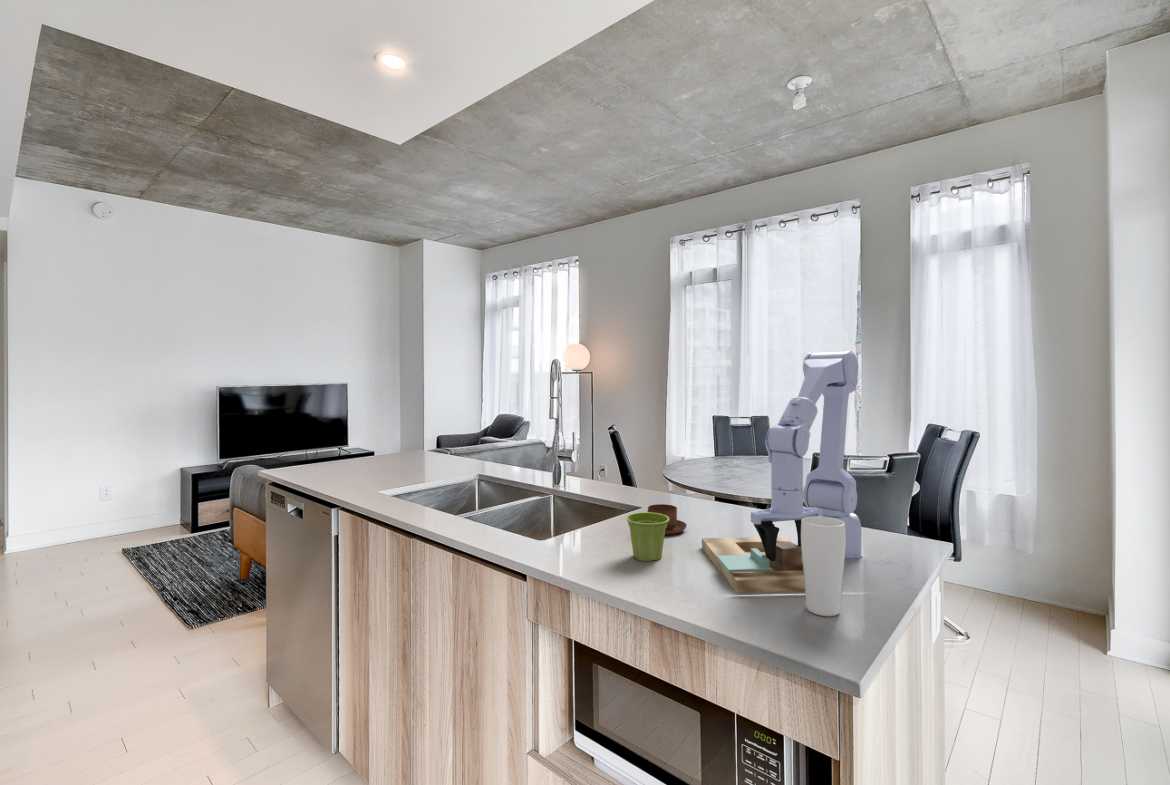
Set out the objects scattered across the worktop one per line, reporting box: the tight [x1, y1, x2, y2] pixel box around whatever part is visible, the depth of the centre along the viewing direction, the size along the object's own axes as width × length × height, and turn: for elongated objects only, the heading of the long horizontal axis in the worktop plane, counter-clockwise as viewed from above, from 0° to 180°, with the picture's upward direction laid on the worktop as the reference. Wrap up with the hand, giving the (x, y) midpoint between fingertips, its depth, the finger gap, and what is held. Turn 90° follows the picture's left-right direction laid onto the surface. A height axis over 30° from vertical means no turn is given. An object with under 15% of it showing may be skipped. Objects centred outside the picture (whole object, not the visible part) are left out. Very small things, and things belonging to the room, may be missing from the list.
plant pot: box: [625, 511, 669, 562], centre depth 119 cm, size 9×9×9 cm
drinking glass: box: [801, 516, 846, 617], centre depth 91 cm, size 7×7×15 cm
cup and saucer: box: [647, 503, 687, 536], centre depth 139 cm, size 12×12×6 cm
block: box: [771, 541, 802, 571], centre depth 106 cm, size 4×4×6 cm
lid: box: [717, 548, 771, 574], centre depth 106 cm, size 8×8×2 cm
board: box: [701, 536, 805, 593], centre depth 112 cm, size 19×26×3 cm
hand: (787, 557), depth 106 cm, fingers open, 7 cm apart
